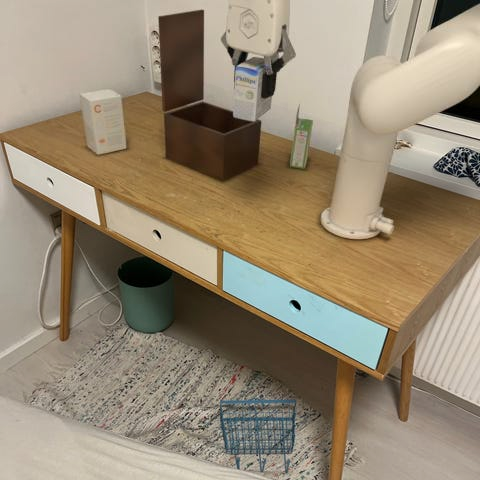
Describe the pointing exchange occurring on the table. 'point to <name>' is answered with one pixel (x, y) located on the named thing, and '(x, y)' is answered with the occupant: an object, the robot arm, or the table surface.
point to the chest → (211, 140)
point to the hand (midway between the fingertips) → (253, 91)
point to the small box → (103, 121)
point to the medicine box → (250, 90)
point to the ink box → (301, 142)
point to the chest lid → (181, 58)
